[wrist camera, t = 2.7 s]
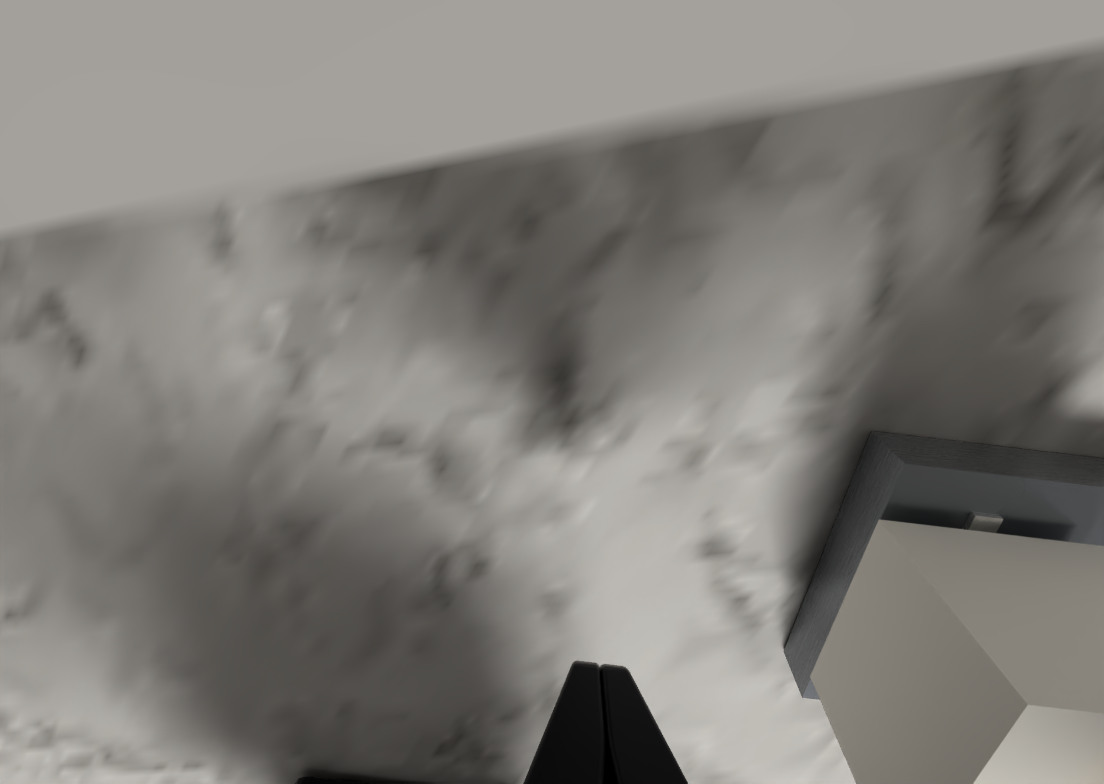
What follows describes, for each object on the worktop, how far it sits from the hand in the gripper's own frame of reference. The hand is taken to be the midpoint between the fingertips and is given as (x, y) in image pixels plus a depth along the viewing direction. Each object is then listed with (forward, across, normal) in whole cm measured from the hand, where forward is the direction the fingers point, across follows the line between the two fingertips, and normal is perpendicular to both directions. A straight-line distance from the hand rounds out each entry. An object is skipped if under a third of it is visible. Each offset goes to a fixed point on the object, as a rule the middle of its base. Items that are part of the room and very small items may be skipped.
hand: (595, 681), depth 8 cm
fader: (+2, -7, 0) cm, 7 cm away
